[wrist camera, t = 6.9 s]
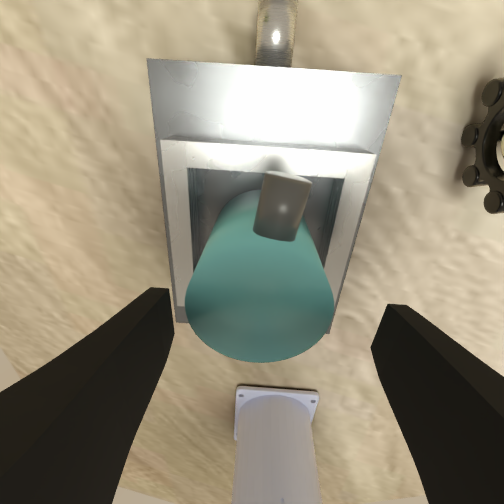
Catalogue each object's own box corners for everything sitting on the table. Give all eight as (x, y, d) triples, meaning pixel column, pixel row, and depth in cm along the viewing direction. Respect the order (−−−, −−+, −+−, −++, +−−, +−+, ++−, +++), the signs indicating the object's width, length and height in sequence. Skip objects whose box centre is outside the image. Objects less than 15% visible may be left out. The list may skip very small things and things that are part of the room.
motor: (319, 299, 20) (334, 352, 16) (189, 289, 20) (168, 340, 16) (385, 20, 12) (452, -28, 8) (169, 6, 12) (115, -49, 8)
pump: (292, 280, 15) (308, 372, 10) (210, 264, 15) (179, 350, 9) (331, 165, 12) (383, 207, 7) (227, 142, 12) (197, 168, 6)
